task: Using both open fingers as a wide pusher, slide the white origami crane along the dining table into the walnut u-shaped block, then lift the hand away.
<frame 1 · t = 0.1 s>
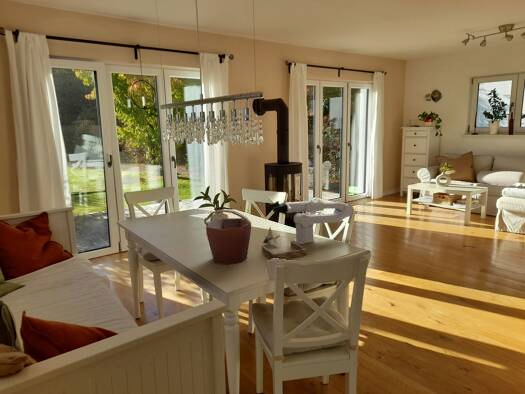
hand: (270, 208, 201), 22 cm above the table, tool horizontal, fingers open, 7 cm apart
origami crane: (272, 246, 207), on the table
bucket: (230, 258, 190), on the table
walnut u-shaped block: (283, 253, 194), on the table
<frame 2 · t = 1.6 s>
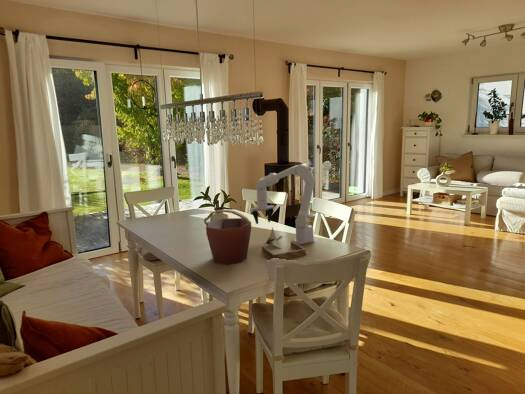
hand: (263, 222, 216), 10 cm above the table, tool pointing down, fingers open, 7 cm apart
origami crane: (275, 247, 205), on the table
everything else where it was.
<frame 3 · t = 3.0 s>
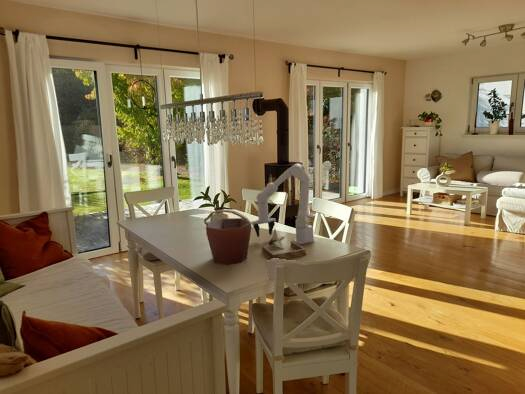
hand: (264, 235, 217), 3 cm above the table, tool pointing down, fingers open, 7 cm apart
origami crane: (277, 247, 204), on the table
everything else where it was.
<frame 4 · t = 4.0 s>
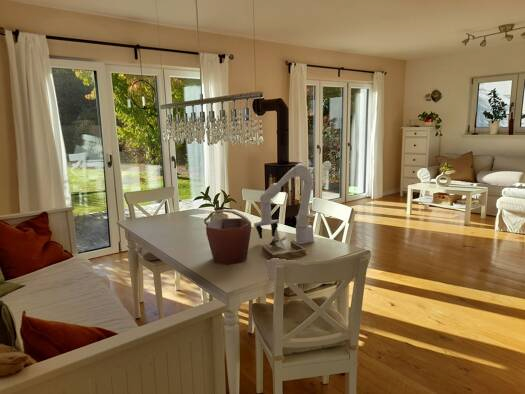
hand: (267, 237, 213), 3 cm above the table, tool pointing down, fingers open, 7 cm apart
origami crane: (279, 248, 203), on the table
everything else where it was.
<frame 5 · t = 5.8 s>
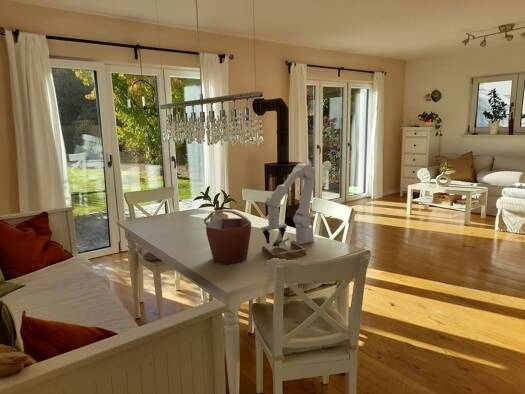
hand: (274, 242, 204), 3 cm above the table, tool pointing down, fingers open, 7 cm apart
origami crane: (282, 249, 201), on the table
everything else where it was.
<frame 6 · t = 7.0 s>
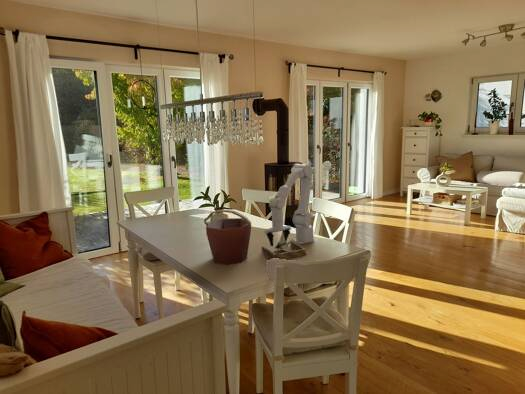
hand: (278, 244, 199), 3 cm above the table, tool pointing down, fingers open, 7 cm apart
origami crane: (285, 251, 197), on the table
everything else where it was.
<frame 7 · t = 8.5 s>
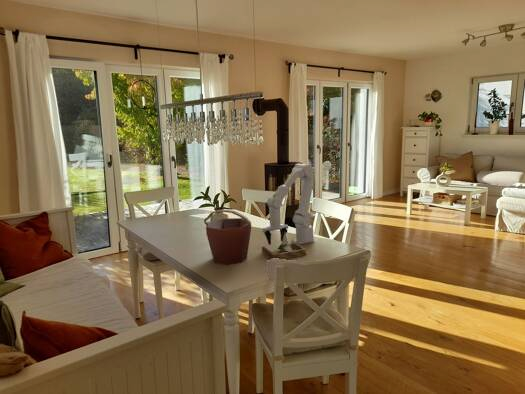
hand: (275, 243, 202), 3 cm above the table, tool pointing down, fingers open, 7 cm apart
origami crane: (288, 252, 195), on the table
everything else where it was.
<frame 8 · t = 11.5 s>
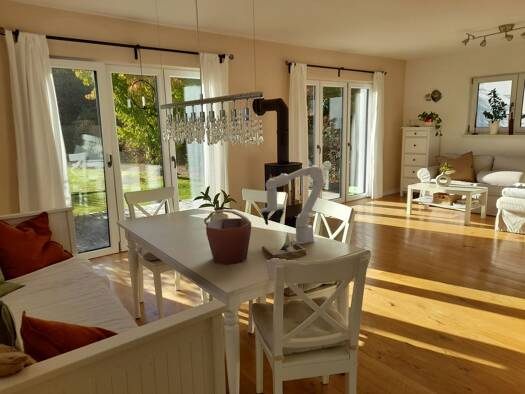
hand: (272, 223, 213), 10 cm above the table, tool pointing down, fingers open, 7 cm apart
origami crane: (290, 253, 194), on the table
everything else where it was.
at the end: origami crane inside the target area on the walnut u-shaped block (3.4 cm from its centre), point 0.0 cm above the walnut u-shaped block's base; origami crane tilted 0°; origami crane moved 16.3 cm from its start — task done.
